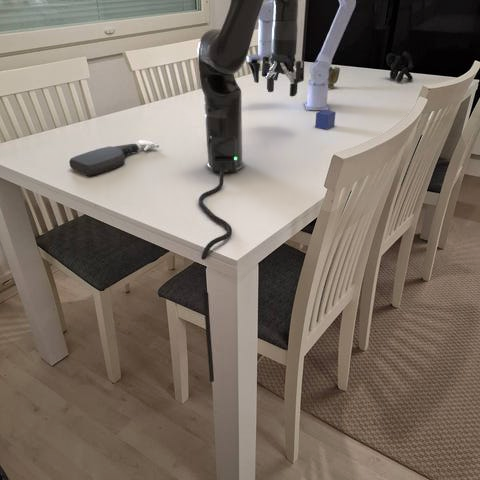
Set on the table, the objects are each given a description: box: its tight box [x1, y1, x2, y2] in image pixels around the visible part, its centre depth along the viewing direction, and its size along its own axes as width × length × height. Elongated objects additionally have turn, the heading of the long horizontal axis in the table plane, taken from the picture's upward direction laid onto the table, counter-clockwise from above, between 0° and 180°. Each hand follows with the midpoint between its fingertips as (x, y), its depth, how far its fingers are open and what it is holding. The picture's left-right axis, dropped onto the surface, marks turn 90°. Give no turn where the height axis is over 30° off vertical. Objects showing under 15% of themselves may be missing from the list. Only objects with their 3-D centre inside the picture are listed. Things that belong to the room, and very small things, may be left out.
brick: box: [314, 110, 337, 131], centre depth 145 cm, size 4×5×5 cm
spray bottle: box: [68, 139, 160, 177], centre depth 124 cm, size 3×11×24 cm
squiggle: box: [385, 51, 414, 83], centre depth 198 cm, size 11×10×15 cm
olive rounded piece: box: [327, 66, 341, 89], centre depth 188 cm, size 8×7×8 cm
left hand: (281, 93), depth 139 cm, fingers open, 8 cm apart
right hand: (265, 81), depth 162 cm, fingers open, 7 cm apart
